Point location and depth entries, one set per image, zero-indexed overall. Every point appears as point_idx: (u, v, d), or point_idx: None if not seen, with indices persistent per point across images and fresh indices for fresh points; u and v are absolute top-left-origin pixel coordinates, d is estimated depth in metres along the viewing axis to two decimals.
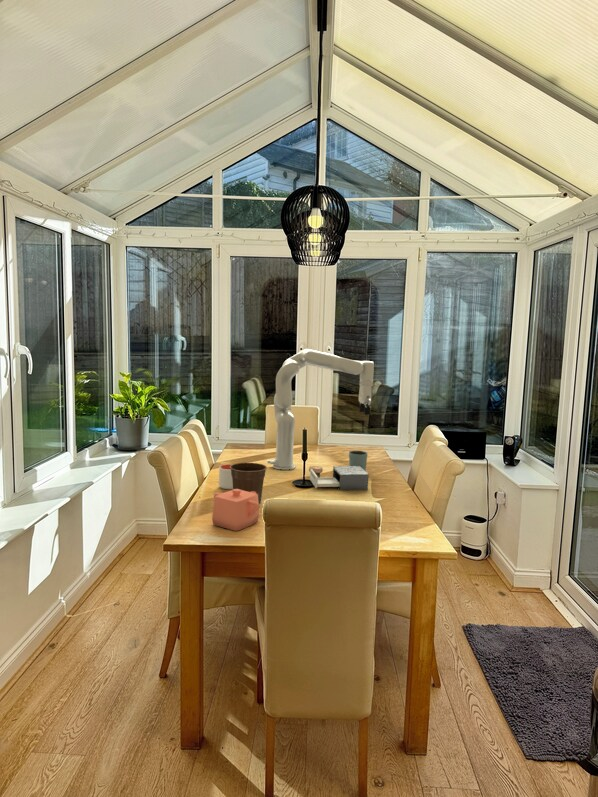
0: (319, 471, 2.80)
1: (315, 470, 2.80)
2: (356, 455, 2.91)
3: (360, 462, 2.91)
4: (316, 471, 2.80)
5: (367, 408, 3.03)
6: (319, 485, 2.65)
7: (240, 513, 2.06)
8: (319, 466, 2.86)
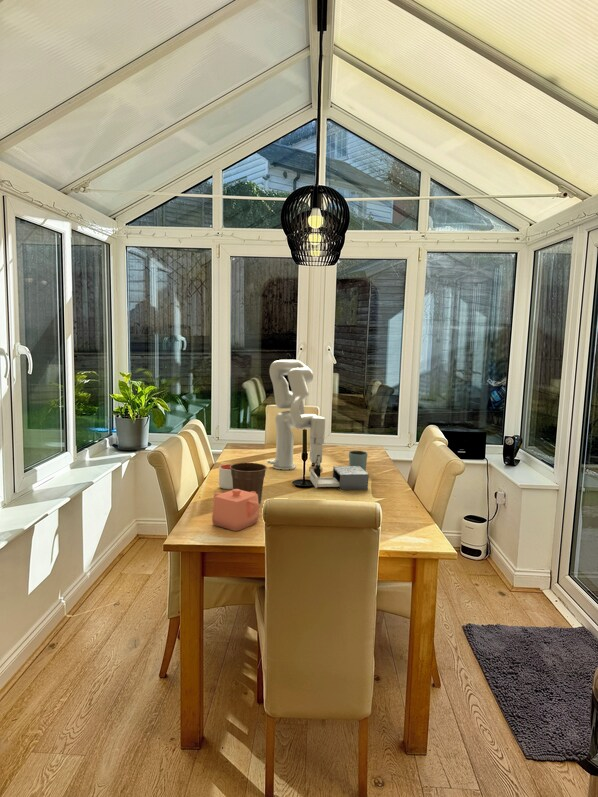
0: None
1: None
2: (356, 455, 2.91)
3: (360, 462, 2.91)
4: None
5: (317, 469, 2.78)
6: (319, 485, 2.65)
7: (240, 513, 2.06)
8: None
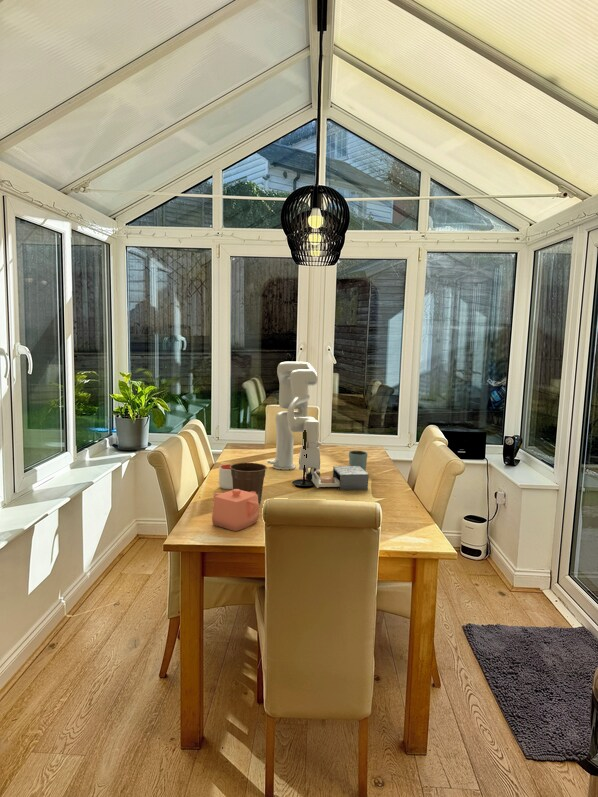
0: (331, 482, 2.68)
1: (327, 481, 2.68)
2: (356, 455, 2.91)
3: (360, 462, 2.91)
4: (328, 482, 2.68)
5: (306, 474, 2.69)
6: (320, 485, 2.65)
7: (240, 513, 2.06)
8: None
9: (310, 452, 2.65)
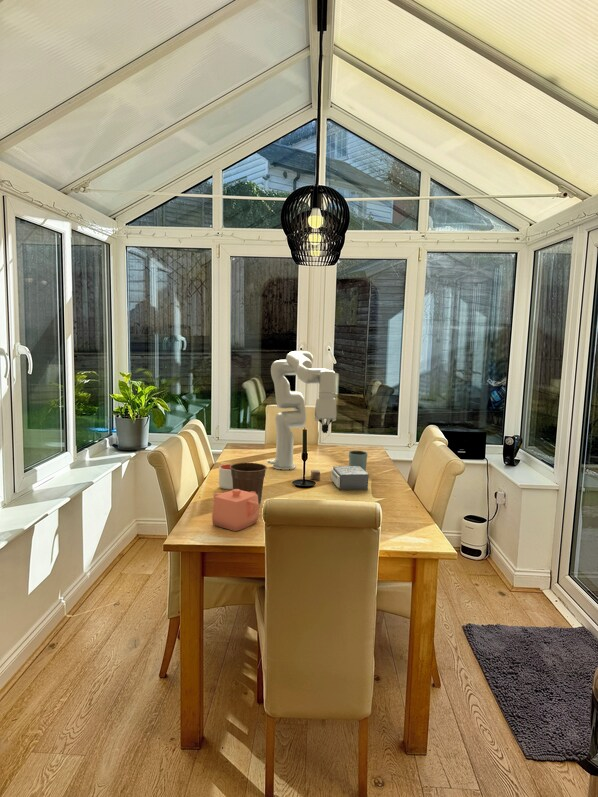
0: None
1: None
2: (356, 455, 2.91)
3: (360, 462, 2.91)
4: None
5: (322, 425, 2.67)
6: None
7: (240, 513, 2.06)
8: None
9: (326, 403, 2.63)
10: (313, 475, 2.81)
